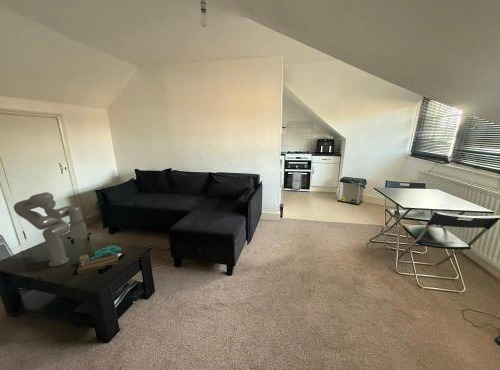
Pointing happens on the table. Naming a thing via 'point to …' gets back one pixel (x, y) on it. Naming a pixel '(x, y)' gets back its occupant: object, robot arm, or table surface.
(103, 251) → the alien figure
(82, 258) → the mallet
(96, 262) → the board
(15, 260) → the table surface
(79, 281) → the table surface
